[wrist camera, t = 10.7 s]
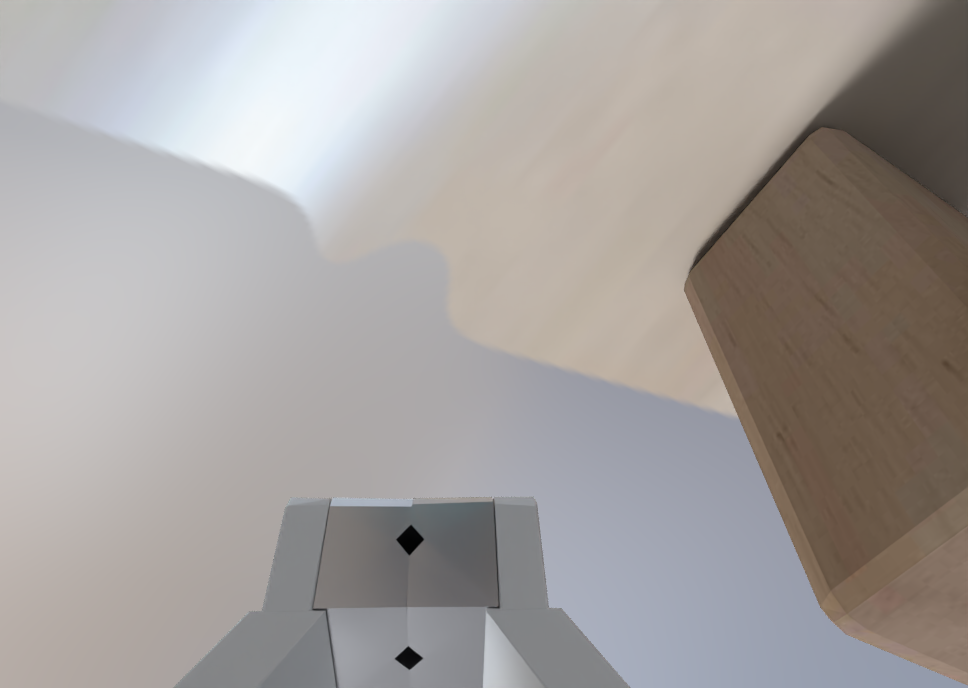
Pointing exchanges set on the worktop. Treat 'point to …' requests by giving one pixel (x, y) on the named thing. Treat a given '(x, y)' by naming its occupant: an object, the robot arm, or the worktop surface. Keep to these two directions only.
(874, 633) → the block
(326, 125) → the worktop surface
